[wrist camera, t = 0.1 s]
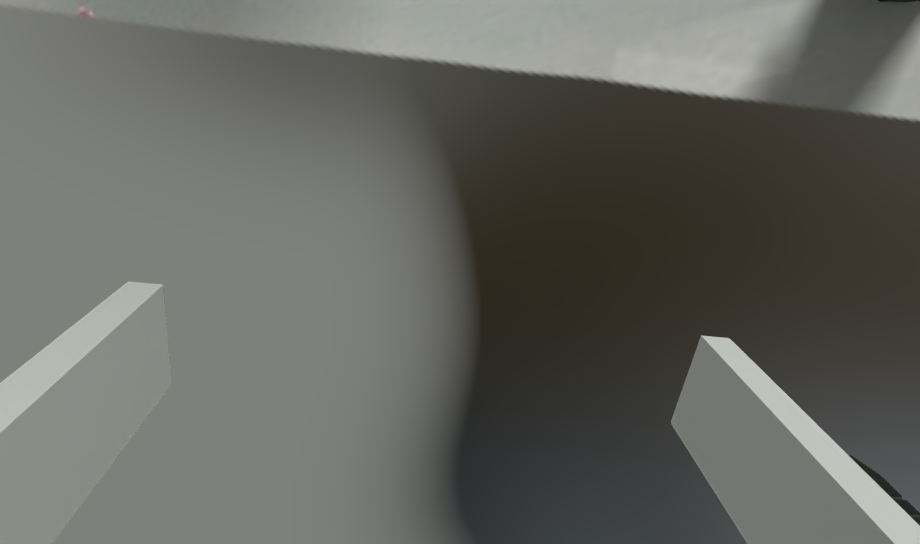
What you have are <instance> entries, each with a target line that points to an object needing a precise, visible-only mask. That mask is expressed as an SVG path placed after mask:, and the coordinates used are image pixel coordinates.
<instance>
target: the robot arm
mask: <svg viewBox="0 0 920 544" xmlns="http://www.w3.org/2000/svg"><path fill="white" fill-rule="evenodd" d="M171 385H172V381H171V369H170V357H169V347H168V334H167V323H166V311H165V300H164V289H163V285H161V284H151V283H140V282H129V281H128V282H127V283H126V284H124V285H123V286H122V287H121V288H119V289H118V290H117V291H115V292H114V293H113V294H112V295H110V296H109V297H108V298H107V299H105V300H104V301H103V302H102V303H100V304H99V305H98V306H97V307H95V308H94V309H93V310H92V311H90V312H89V313H88V314H87V315H85V316H84V317H83V318H82V319H80V320H79V321H78V322H76V323H75V324H74V325H73V326H71V327H70V328H69V329H68V330H66V331H65V332H64V333H63V334H61V335H60V336H59V337H57V338H56V339H55V340H54V341H52V342H51V343H50V344H49V345H47V346H46V347H45V348H44V349H42V350H41V351H40V352H39V353H37V354H36V355H35V356H34V357H32V358H31V359H30V360H29V361H27V362H26V363H25V364H23V365H22V366H21V367H20V368H19V369H17V370H16V371H15V372H13V373H12V374H11V375H10V376H9V377H7V378H6V379H5V380H3V381H2V382H1V383H0V544H52V543H53V542H54V540H55V539H56V538H57V536H58V535H59V534H60V533H61V531H62V529H64V527H65V526H66V525H67V523H68V522H69V521H70V519H71V518H72V517H73V515H74V514H75V513H76V511H77V510H78V509H79V507H80V506H81V505H82V503H83V502H84V501H85V499H86V498H87V497H88V495H89V494H90V493H91V491H92V490H93V489H94V487H95V486H96V485H97V483H98V482H99V481H100V479H101V478H102V477H103V475H104V474H105V473H106V471H107V470H108V469H109V467H110V466H111V465H112V463H113V462H114V461H115V459H116V458H117V457H118V455H119V454H120V453H121V451H122V450H123V449H124V447H125V446H126V444H127V443H128V442H129V441H130V439H131V438H132V437H133V435H134V434H135V433H136V431H137V430H138V429H139V428H140V426H141V425H142V423H143V422H144V421H145V419H146V418H147V417H148V415H149V414H150V413H151V412H152V410H153V409H154V408H155V406H156V404H157V403H158V402H159V401H160V400H161V398H162V397H163V396H164V394H165V393H166V392H167V390H168V389H169V388H170V386H171ZM671 424H672V426H673V427H674V429H675V430H676V432H677V434H678V435H679V437H680V438H681V440H682V442H683V443H684V445H685V446H686V448H687V449H688V451H689V453H690V454H691V455H692V457H693V459H694V460H695V462H696V463H697V465H698V467H699V468H700V470H701V471H702V473H703V475H704V476H705V478H706V479H707V481H708V482H709V484H710V486H711V487H712V489H713V490H714V492H715V493H716V495H717V497H718V498H719V500H720V501H721V503H722V504H723V506H724V508H725V509H726V511H727V512H728V514H729V516H730V517H731V519H732V520H733V522H734V523H735V525H736V527H737V528H738V529H739V531H740V533H741V534H742V536H743V537H744V539H745V541H746V542H747V544H920V513H919V512H918V511H917V510H916V509H915V508H914V507H913V506H912V505H911V504H910V503H909V502H907V501H906V500H902V496H901V495H900V494H899V493H898V492H897V491H896V490H895V489H894V488H893V487H892V486H891V485H890V484H889V483H888V482H887V481H886V480H885V479H884V478H883V477H881V476H880V475H879V474H878V473H876V472H875V471H873V470H872V469H870V468H869V467H867V466H866V465H864V464H863V463H862V462H860V461H859V460H857V459H855V458H854V457H853V456H851V455H847V454H846V453H845V452H844V451H843V450H842V449H841V448H840V447H839V446H838V445H837V444H836V443H835V442H834V441H833V440H832V439H831V438H830V437H829V436H828V435H827V434H826V433H825V432H824V431H823V430H822V429H821V428H820V427H819V426H818V425H817V424H816V423H815V422H814V421H813V420H812V419H811V418H810V417H809V416H808V415H807V414H806V413H805V412H804V411H803V410H802V409H801V408H800V407H799V406H797V404H796V403H795V402H794V401H793V400H792V399H791V398H789V396H787V395H786V394H785V393H784V392H783V391H782V390H781V389H780V388H779V387H778V386H777V385H776V384H775V383H774V382H773V381H772V380H771V379H770V378H769V377H768V376H767V375H766V374H765V373H764V372H763V371H762V370H761V369H760V368H759V367H758V366H757V365H756V364H755V363H754V362H753V361H752V360H751V359H750V358H749V357H748V356H747V355H746V354H745V353H744V352H743V351H742V350H741V349H740V348H738V346H737V345H736V344H734V342H733V341H731V339H729V338H721V337H710V336H701V338H700V340H699V343H698V347H697V349H696V352H695V355H694V358H693V360H692V363H691V366H690V369H689V372H688V375H687V378H686V380H685V383H684V386H683V389H682V392H681V395H680V398H679V401H678V404H677V406H676V409H675V412H674V415H673V418H672V420H671Z"/></svg>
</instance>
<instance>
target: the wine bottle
mask: <svg viewBox="0 0 920 544" xmlns="http://www.w3.org/2000/svg"><path fill="white" fill-rule="evenodd" d="M879 1H891V2H911V1H920V0H879Z"/></svg>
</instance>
